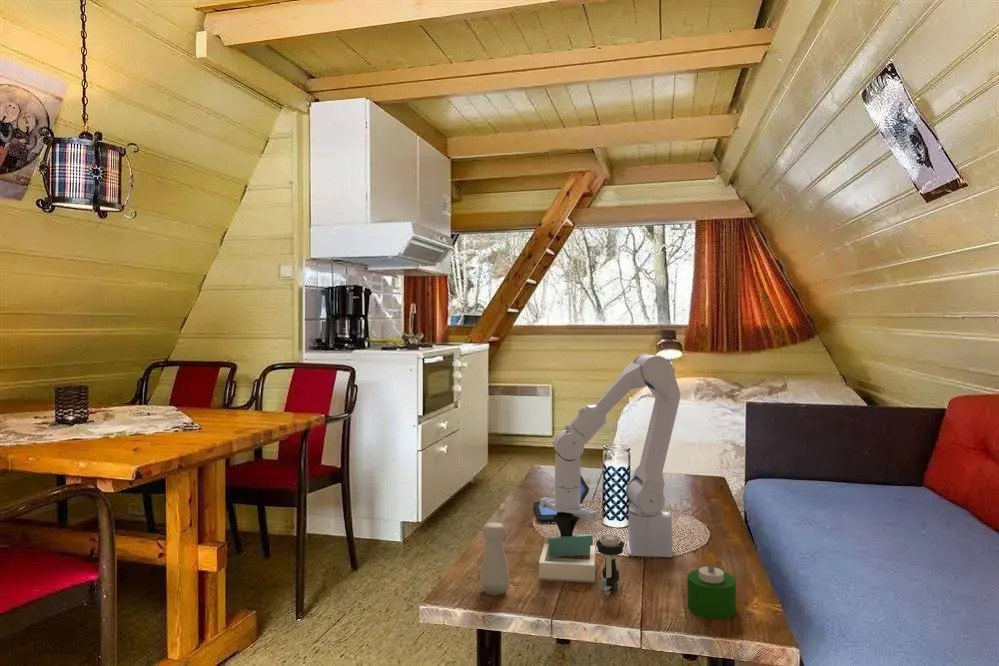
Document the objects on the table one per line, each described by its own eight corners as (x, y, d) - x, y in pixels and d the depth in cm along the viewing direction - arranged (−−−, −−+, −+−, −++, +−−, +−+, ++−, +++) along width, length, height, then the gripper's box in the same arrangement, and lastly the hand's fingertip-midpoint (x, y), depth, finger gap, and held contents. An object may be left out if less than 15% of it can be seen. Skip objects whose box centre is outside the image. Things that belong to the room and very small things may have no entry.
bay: (595, 561, 136) (595, 545, 136) (594, 583, 125) (594, 565, 125) (544, 559, 138) (544, 543, 137) (539, 580, 127) (539, 562, 127)
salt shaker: (481, 584, 125) (480, 519, 125) (509, 584, 125) (508, 519, 125) (479, 597, 119) (478, 529, 119) (509, 597, 119) (508, 529, 119)
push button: (620, 599, 117) (619, 546, 117) (592, 595, 119) (591, 543, 119) (627, 585, 123) (626, 535, 123) (600, 581, 125) (599, 531, 125)
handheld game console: (533, 506, 177) (532, 473, 177) (580, 505, 177) (580, 472, 177) (538, 525, 161) (537, 489, 161) (590, 523, 162) (589, 487, 161)
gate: (591, 552, 140) (591, 534, 140) (592, 553, 140) (592, 535, 139) (544, 555, 139) (544, 537, 139) (545, 557, 138) (545, 539, 138)
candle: (746, 615, 111) (745, 559, 110) (705, 622, 108) (704, 565, 108) (717, 595, 119) (716, 542, 118) (678, 602, 116) (678, 548, 116)
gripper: (531, 482, 143) (530, 541, 143) (582, 495, 132) (581, 559, 133) (551, 476, 148) (550, 534, 148) (602, 489, 137) (601, 550, 138)
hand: (566, 545), depth 141 cm, fingers closed, pressing on gate
